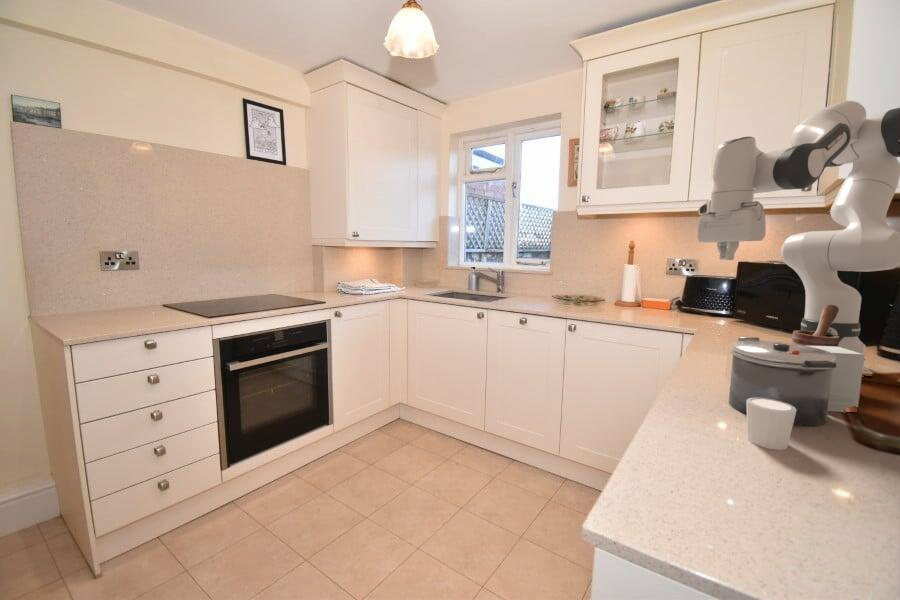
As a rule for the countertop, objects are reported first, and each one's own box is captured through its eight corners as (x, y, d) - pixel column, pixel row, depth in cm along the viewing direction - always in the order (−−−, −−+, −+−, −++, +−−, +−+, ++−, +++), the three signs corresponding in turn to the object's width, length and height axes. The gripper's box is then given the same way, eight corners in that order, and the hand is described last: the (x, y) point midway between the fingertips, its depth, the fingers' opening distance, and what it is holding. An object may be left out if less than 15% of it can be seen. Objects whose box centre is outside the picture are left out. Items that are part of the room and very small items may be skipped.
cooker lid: (710, 343, 93) (711, 334, 93) (782, 343, 93) (783, 334, 93) (779, 368, 74) (780, 357, 73) (870, 368, 74) (871, 357, 73)
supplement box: (858, 413, 83) (866, 354, 82) (817, 411, 85) (824, 352, 83) (832, 400, 90) (839, 345, 89) (795, 398, 92) (801, 344, 90)
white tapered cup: (779, 455, 66) (784, 414, 65) (734, 438, 72) (738, 400, 72) (800, 446, 69) (804, 407, 69) (755, 430, 76) (759, 394, 75)
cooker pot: (710, 395, 93) (714, 345, 92) (781, 395, 93) (786, 345, 92) (766, 427, 77) (772, 366, 75) (852, 427, 77) (860, 366, 75)
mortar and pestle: (790, 374, 110) (798, 301, 107) (833, 381, 104) (843, 304, 101) (786, 384, 101) (794, 306, 99) (833, 392, 95) (843, 309, 93)
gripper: (776, 199, 91) (771, 261, 93) (717, 209, 111) (713, 259, 113) (749, 199, 91) (743, 261, 93) (694, 209, 111) (690, 259, 113)
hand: (726, 260), depth 103 cm, fingers closed
